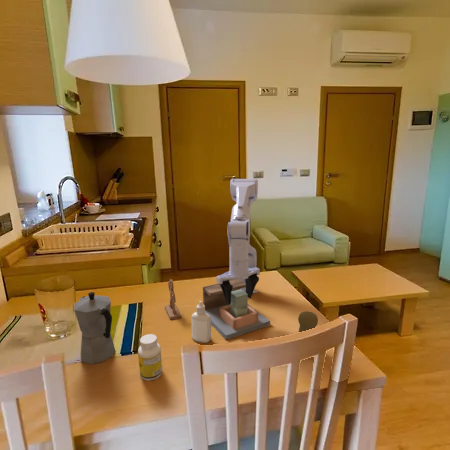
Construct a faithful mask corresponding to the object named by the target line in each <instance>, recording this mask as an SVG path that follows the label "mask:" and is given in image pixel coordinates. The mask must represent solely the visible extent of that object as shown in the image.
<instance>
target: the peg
mask: <svg viewBox="0 0 450 450" xmlns="http://www.w3.org/2000/svg"><path fill="white" fill-rule="evenodd" d="M248 299H249V298H248V294H247V293H246V292H244V291H243V290H241V289H240V290H236V291H232V292H231V304H230V314H231V315H232V316H233V317H234V318H237V317H240V316H244V315H247V308H248V305H249V304H248Z"/></svg>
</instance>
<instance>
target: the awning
mask: <svg viewBox="0 0 450 450" xmlns="http://www.w3.org/2000/svg"><path fill="white" fill-rule="evenodd" d="M229 282H230V284H231V285H232V286H233V288H232V291H236V290H240V289H241V288H245V287H246V283H244V282H243V281H241V280H240V279H235V280H231V281H229ZM202 304H203V305H205V310H207V309H211V308H214V307H218V306H221V305H225V304H228V303H226V301H225V297H224V293H223V291H222V288H221V287H220V285H219V283H214V284H209V285H207V286H206V285H205V286H202Z"/></svg>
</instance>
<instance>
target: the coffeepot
mask: <svg viewBox="0 0 450 450" xmlns="http://www.w3.org/2000/svg"><path fill="white" fill-rule="evenodd" d="M95 293H96V292H93V291H92V292H88V293H87V295H85V296H82V297H79V298H78V300H79V301H77V302H75V303H73V310H74V314H75V316H76V317H75V318H76V320H77V324H78V326H79V329H80V332H81V343H80V361H81V362H83V363H84V364H89V365H94V364H99V363H102V362H105V361H107V360H108V359H110V358H112V356H113V355H115V353H116V348H115V344H114V340H113V338H112V334H111V332H112V321H113V316H112V313H111V307H112V305H111V303H112V301H111V298H110V296H105V295H99V294H98V295H95Z"/></svg>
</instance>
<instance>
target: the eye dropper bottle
mask: <svg viewBox="0 0 450 450" xmlns="http://www.w3.org/2000/svg"><path fill="white" fill-rule="evenodd" d="M195 309H196V311H194V312H193V313H192V315H191V316H190V317H191V323H190V324H191V339H193V341H195V342H197V343H203V344H207V343H209V342H210V341H211V340H212V325H211V317H210V316H209V315H208V314H207V313H205V305H203V300H200V301H198V304H197V305H196V308H195Z"/></svg>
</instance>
